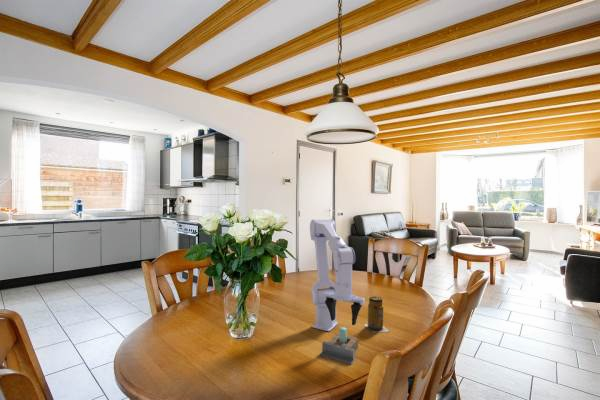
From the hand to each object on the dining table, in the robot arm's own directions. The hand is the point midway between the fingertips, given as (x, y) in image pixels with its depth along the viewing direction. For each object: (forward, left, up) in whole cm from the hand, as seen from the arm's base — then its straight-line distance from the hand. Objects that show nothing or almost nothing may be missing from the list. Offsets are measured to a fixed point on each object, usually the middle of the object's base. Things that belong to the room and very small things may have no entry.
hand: (343, 321), depth 106 cm
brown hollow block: (0, 0, -10) cm, 10 cm away
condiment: (-24, +5, -10) cm, 27 cm away
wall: (+5, 0, -10) cm, 11 cm away
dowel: (0, 0, -9) cm, 9 cm away
